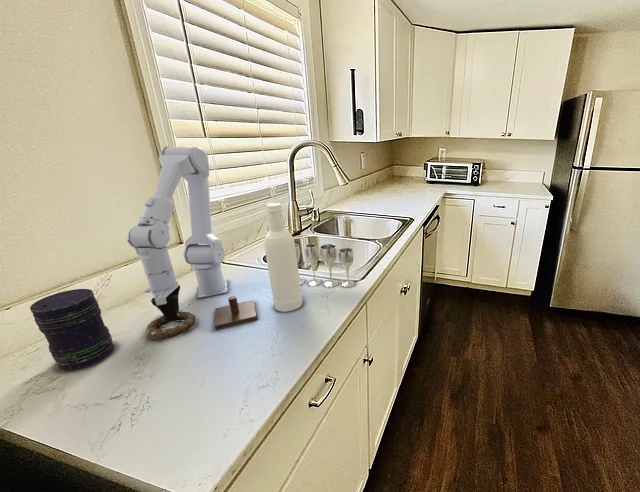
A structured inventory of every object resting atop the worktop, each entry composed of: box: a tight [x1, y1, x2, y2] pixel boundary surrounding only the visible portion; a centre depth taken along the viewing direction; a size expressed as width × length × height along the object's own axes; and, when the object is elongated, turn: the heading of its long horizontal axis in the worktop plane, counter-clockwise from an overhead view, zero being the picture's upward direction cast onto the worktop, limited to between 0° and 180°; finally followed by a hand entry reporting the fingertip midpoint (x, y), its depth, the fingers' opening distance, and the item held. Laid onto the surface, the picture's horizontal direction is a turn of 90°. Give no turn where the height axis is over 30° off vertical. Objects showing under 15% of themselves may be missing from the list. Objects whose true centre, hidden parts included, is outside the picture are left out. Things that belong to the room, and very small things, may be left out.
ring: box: [144, 310, 197, 340], centre depth 84 cm, size 11×11×2 cm
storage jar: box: [29, 288, 116, 372], centre depth 72 cm, size 10×10×15 cm
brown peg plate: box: [214, 295, 258, 331], centre depth 89 cm, size 10×10×6 cm
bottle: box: [263, 202, 304, 313], centre depth 90 cm, size 8×8×30 cm
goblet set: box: [295, 243, 356, 288], centre depth 106 cm, size 28×6×13 cm, turn 84°
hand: (173, 316), depth 88 cm, fingers open, 3 cm apart
